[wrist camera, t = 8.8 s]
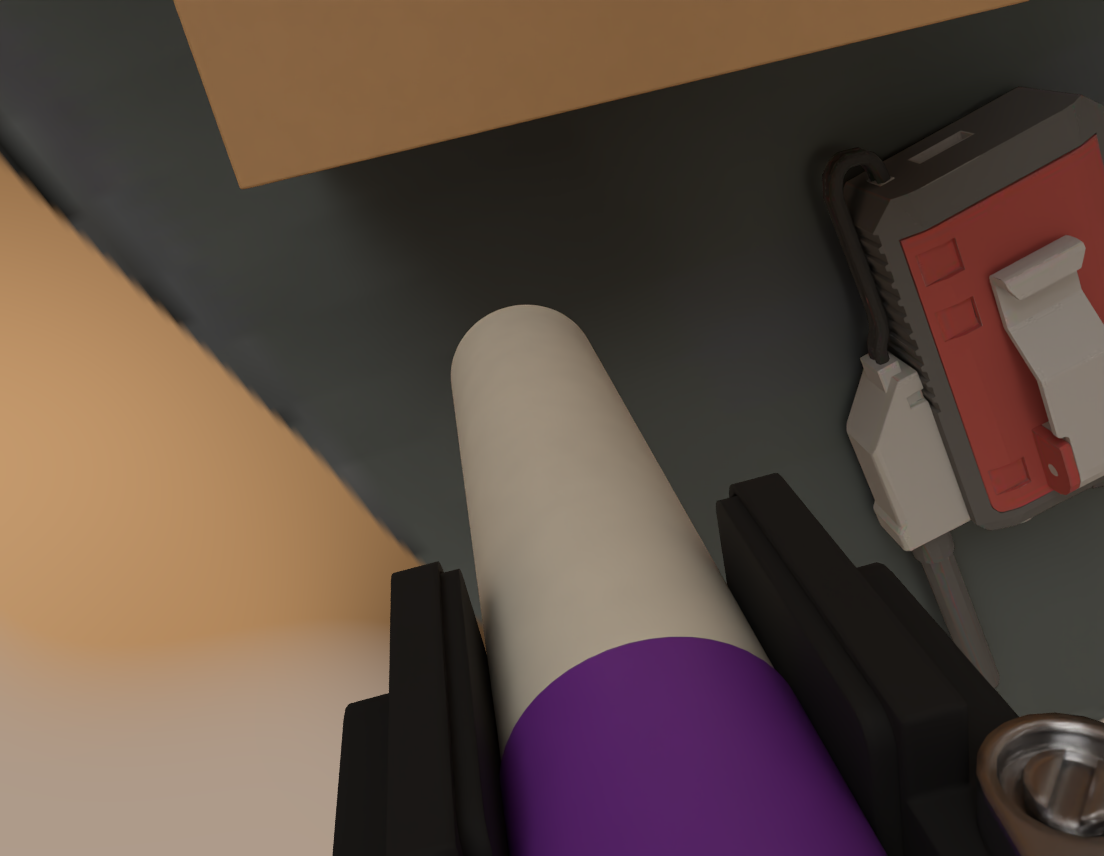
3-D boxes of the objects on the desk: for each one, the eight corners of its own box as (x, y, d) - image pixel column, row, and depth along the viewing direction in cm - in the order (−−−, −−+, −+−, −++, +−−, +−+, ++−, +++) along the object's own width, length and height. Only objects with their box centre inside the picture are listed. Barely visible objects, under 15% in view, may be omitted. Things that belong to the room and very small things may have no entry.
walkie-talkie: (735, 193, 25) (939, 675, 34) (798, 227, 21) (1011, 764, 30) (1029, 29, 24) (1160, 564, 33) (1150, 33, 20) (1263, 640, 29)
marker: (430, 322, 18) (502, 1110, 5) (582, 285, 18) (1025, 957, 5) (468, 457, 19) (603, 1356, 6) (609, 422, 19) (1018, 1229, 6)
